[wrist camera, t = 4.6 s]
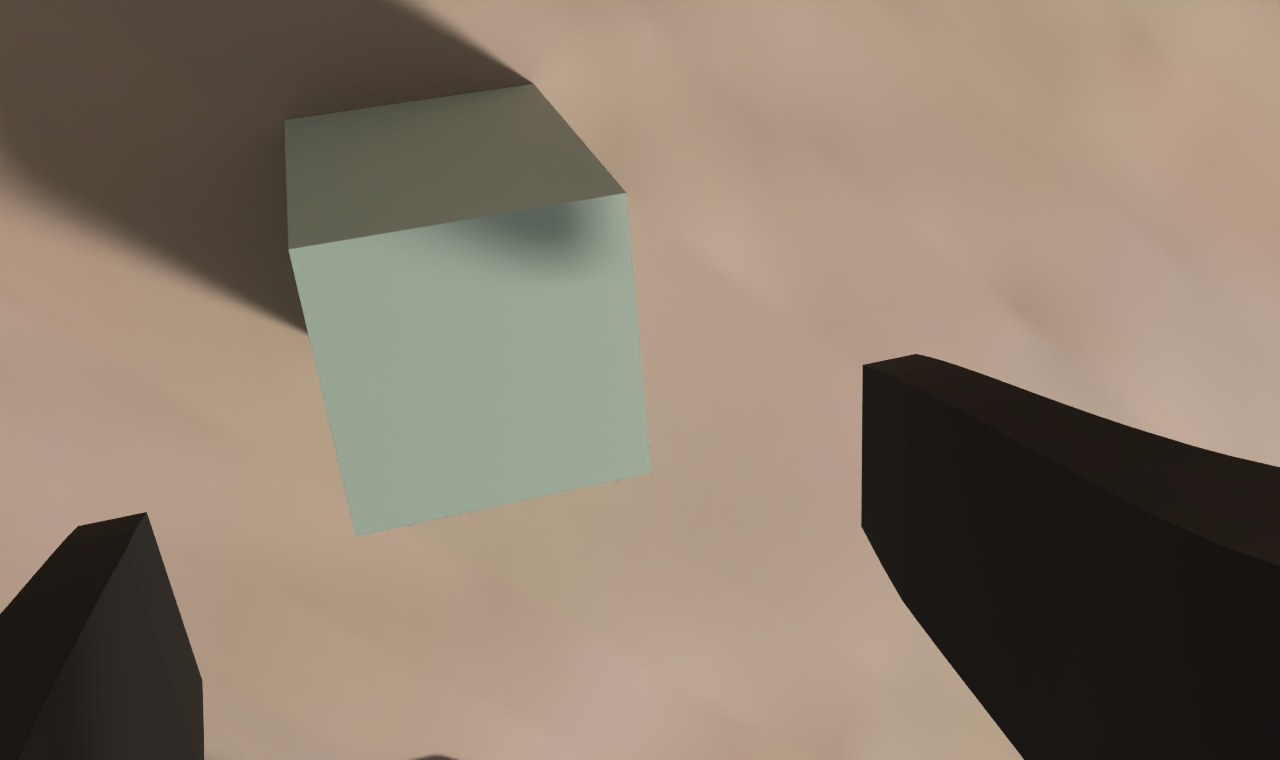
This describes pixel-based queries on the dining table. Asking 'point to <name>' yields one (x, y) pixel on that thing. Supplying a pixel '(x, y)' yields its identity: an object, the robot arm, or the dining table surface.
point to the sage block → (465, 304)
